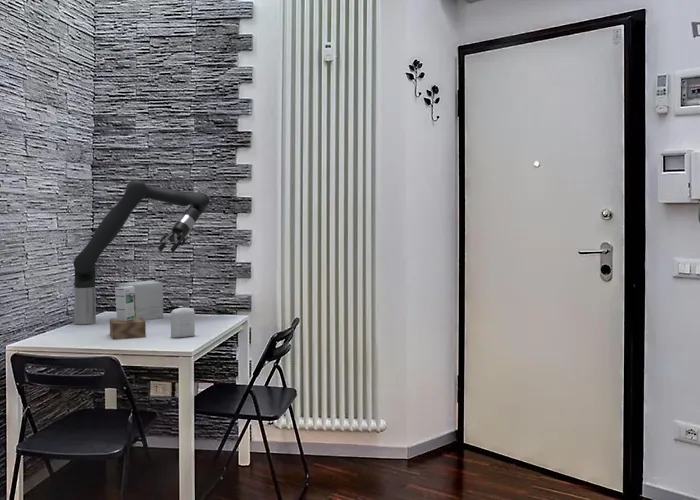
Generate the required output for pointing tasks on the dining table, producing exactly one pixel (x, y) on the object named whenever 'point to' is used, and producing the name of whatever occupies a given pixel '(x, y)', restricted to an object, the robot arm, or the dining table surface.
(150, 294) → the supplement box
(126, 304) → the syrup box
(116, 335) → the walnut block
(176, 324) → the photo printer
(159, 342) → the dining table surface
